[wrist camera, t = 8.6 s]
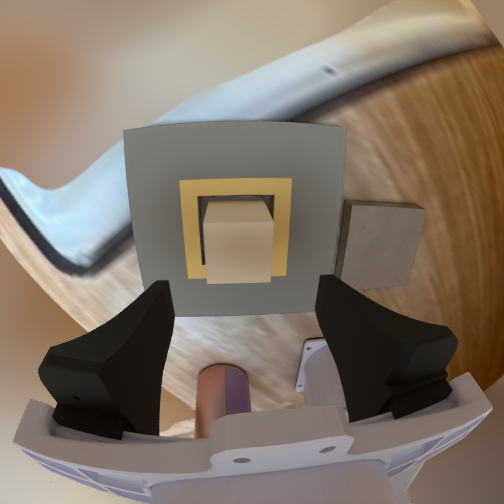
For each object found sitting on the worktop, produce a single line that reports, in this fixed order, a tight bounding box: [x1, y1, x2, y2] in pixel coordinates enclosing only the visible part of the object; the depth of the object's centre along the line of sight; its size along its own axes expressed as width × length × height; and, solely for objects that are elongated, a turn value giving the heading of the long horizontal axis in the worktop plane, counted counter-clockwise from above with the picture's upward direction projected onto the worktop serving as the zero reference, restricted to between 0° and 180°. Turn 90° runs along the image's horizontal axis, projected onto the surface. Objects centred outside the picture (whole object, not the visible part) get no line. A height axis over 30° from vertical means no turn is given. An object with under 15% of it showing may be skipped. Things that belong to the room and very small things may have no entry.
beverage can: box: [194, 365, 251, 439], centre depth 23 cm, size 6×6×15 cm
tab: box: [334, 200, 426, 290], centre depth 23 cm, size 8×8×2 cm
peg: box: [203, 197, 274, 284], centre depth 19 cm, size 4×4×6 cm
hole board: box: [124, 121, 347, 317], centre depth 21 cm, size 16×16×2 cm
